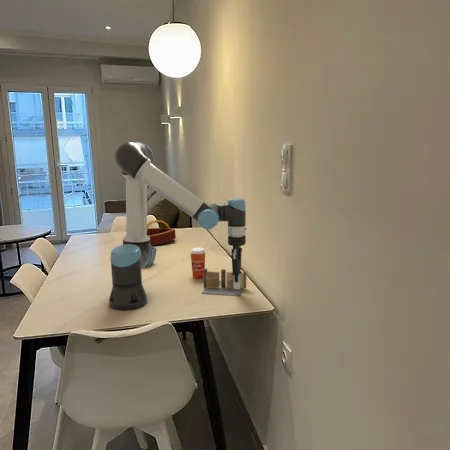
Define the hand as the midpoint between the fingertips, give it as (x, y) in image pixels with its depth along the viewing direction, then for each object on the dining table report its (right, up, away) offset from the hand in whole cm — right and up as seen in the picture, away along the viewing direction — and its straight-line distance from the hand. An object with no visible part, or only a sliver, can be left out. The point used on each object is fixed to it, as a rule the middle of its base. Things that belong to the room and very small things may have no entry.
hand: (236, 288), depth 170 cm
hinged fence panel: (0, -1, +6) cm, 6 cm away
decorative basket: (-52, +16, +95) cm, 110 cm away
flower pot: (-48, +6, +44) cm, 65 cm away
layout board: (-5, -1, +7) cm, 9 cm away
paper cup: (-18, +2, +23) cm, 29 cm away
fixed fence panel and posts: (-10, -1, +8) cm, 13 cm away
